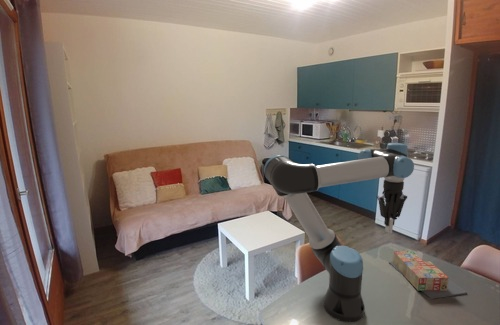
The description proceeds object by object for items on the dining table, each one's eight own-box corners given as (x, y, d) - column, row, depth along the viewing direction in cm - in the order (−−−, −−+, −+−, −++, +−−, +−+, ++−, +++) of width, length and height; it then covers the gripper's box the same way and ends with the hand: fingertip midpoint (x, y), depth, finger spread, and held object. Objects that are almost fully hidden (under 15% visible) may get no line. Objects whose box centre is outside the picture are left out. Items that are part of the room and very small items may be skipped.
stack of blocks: (393, 250, 134) (418, 250, 134) (392, 262, 135) (416, 262, 135) (419, 278, 113) (449, 277, 113) (418, 291, 114) (447, 290, 114)
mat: (430, 299, 110) (431, 297, 110) (388, 263, 135) (388, 262, 135) (466, 293, 113) (467, 292, 113) (419, 259, 138) (419, 258, 138)
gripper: (385, 183, 109) (380, 237, 114) (414, 181, 111) (407, 234, 116) (374, 178, 117) (369, 229, 121) (401, 177, 118) (396, 227, 123)
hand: (388, 231), depth 119 cm, fingers closed
